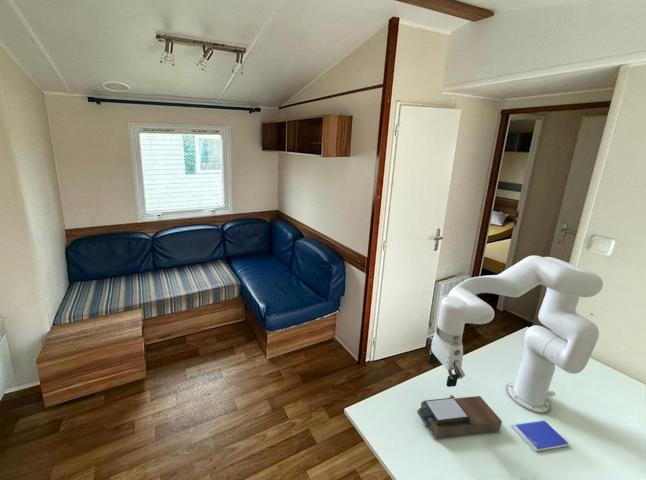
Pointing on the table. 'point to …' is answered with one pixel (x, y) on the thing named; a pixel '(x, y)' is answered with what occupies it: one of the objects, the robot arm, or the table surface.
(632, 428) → the table surface
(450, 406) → the device
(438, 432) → the stand
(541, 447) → the hard drive
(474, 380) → the table surface
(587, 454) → the table surface
